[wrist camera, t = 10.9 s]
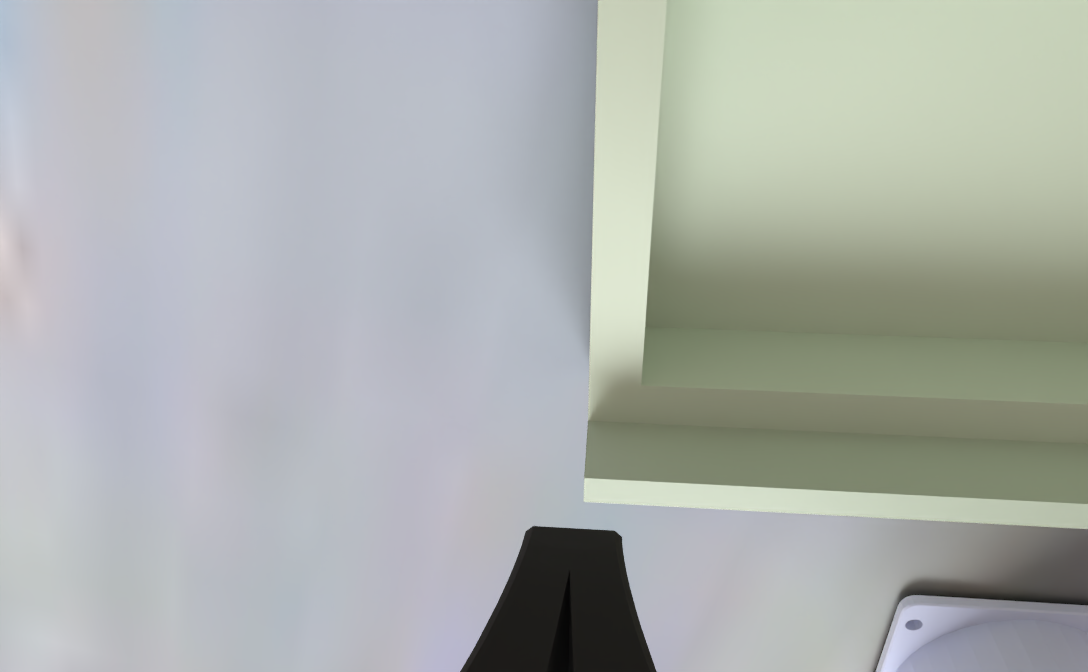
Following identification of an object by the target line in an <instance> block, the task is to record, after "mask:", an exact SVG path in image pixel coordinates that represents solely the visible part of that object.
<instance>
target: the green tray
mask: <svg viewBox="0 0 1088 672" xmlns="http://www.w3.org/2000/svg"><path fill="white" fill-rule="evenodd" d="M584 502H596V503H615V504H633V505H652V506H670V507H689V508H707V509H726V510H744V511H763V512H781V513H800V514H818V515H837V516H855V517H874V518H892V519H910V520H929V521H947V522H966V523H984V524H1003V525H1021V526H1040V527H1058V528H1077V529H1088V0H598V22H597V65H596V107H595V149H594V192H593V234H592V276H591V319H590V361H589V403H588V430H587V445H586V460H585V475H584Z"/></svg>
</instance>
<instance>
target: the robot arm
mask: <svg viewBox="0 0 1088 672" xmlns="http://www.w3.org/2000/svg"><path fill="white" fill-rule="evenodd" d="M460 672H656V669H655V666H654V663H653V660H652V658H651V655H650V652H649V649H648V646H647V643H646V640H645V637H644V634H643V631H642V629H641V625H640V622H639V619H638V615H637V612H636V609H635V605H634V601H633V597H632V594H631V590H630V586H629V582H628V577H627V573H626V568H625V562H624V556H623V548H622V537H621V536H620V535H619V534H618V533H617V532H615V531H608V530H591V529H573V528H555V527H538V526H533V527H532V528H530V529H529V530H527V531H526V533H525V536H524V540H523V543H522V546H521V549H520V552H519V555H518V557H517V560H516V563H515V565H514V568H513V570H512V572H511V575H510V577H509V579H508V582H507V584H506V586H505V588H504V590H503V593H502V595H501V597H500V599H499V601H498V603H497V605H496V607H495V609H494V611H493V613H492V615H491V617H490V619H489V621H488V623H487V625H486V627H485V629H484V630H483V632H482V634H481V636H480V638H479V640H478V642H477V644H476V646H475V648H474V649H473V651H472V653H471V655H470V656H469V658H468V660H467V661H466V663H465V665H464V666H463V668H462V670H461V671H460ZM876 672H1088V605H1073V604H1056V603H1040V602H1024V601H1008V600H991V599H975V598H959V597H942V596H926V595H911V596H908V597H905V598H904V599H902V600H901V601H900V603H899V604H898V607H897V610H896V613H895V616H894V619H893V621H892V624H891V627H890V630H889V633H888V636H887V639H886V642H885V645H884V648H883V651H882V654H881V657H880V660H879V663H878V666H877V669H876Z"/></svg>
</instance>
